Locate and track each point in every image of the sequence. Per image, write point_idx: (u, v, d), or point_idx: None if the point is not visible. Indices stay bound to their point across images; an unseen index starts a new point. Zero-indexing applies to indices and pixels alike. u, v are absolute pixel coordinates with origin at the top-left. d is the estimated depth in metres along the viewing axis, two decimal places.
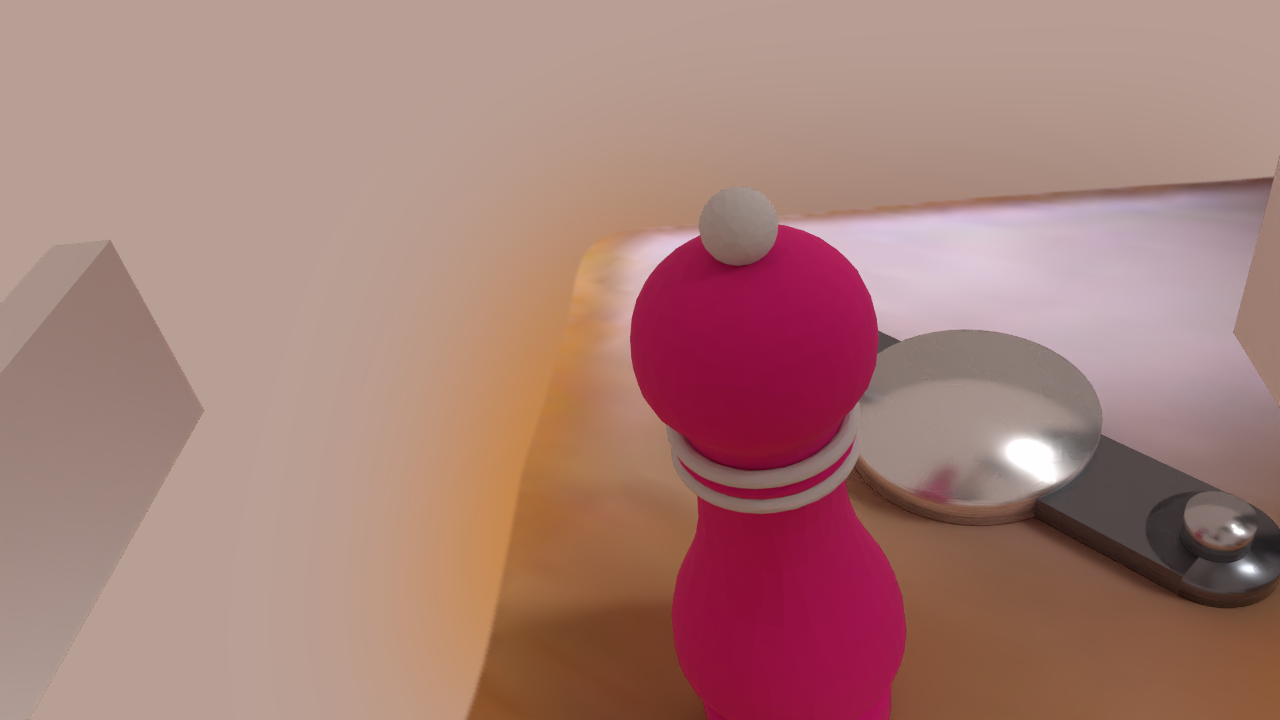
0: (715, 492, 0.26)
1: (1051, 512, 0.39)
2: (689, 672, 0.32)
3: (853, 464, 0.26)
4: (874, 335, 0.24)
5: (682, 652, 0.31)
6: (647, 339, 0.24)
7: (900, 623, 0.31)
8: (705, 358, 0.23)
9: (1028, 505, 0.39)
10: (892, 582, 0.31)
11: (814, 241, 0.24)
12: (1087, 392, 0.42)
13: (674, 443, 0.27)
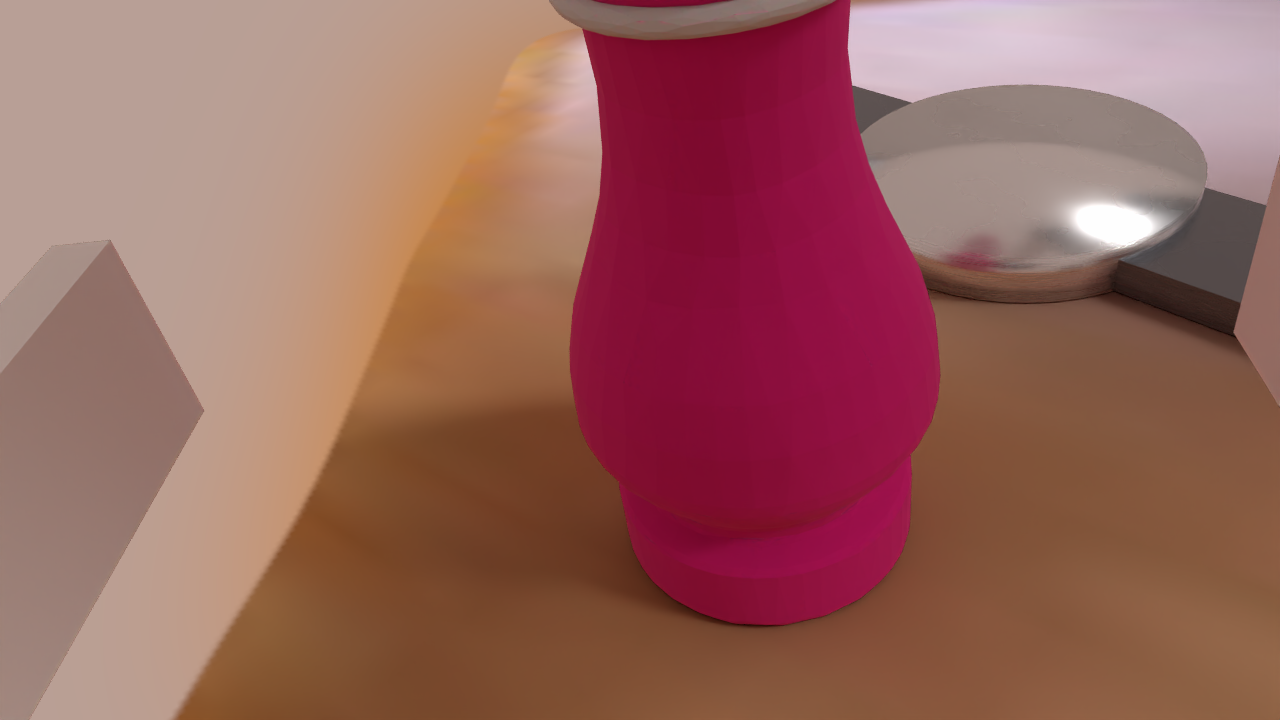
0: (612, 6, 0.14)
1: (1140, 277, 0.27)
2: (590, 427, 0.20)
3: None
4: None
5: (580, 395, 0.20)
6: None
7: (933, 346, 0.19)
8: None
9: (1106, 269, 0.27)
10: (921, 279, 0.19)
11: None
12: (1182, 139, 0.30)
13: None
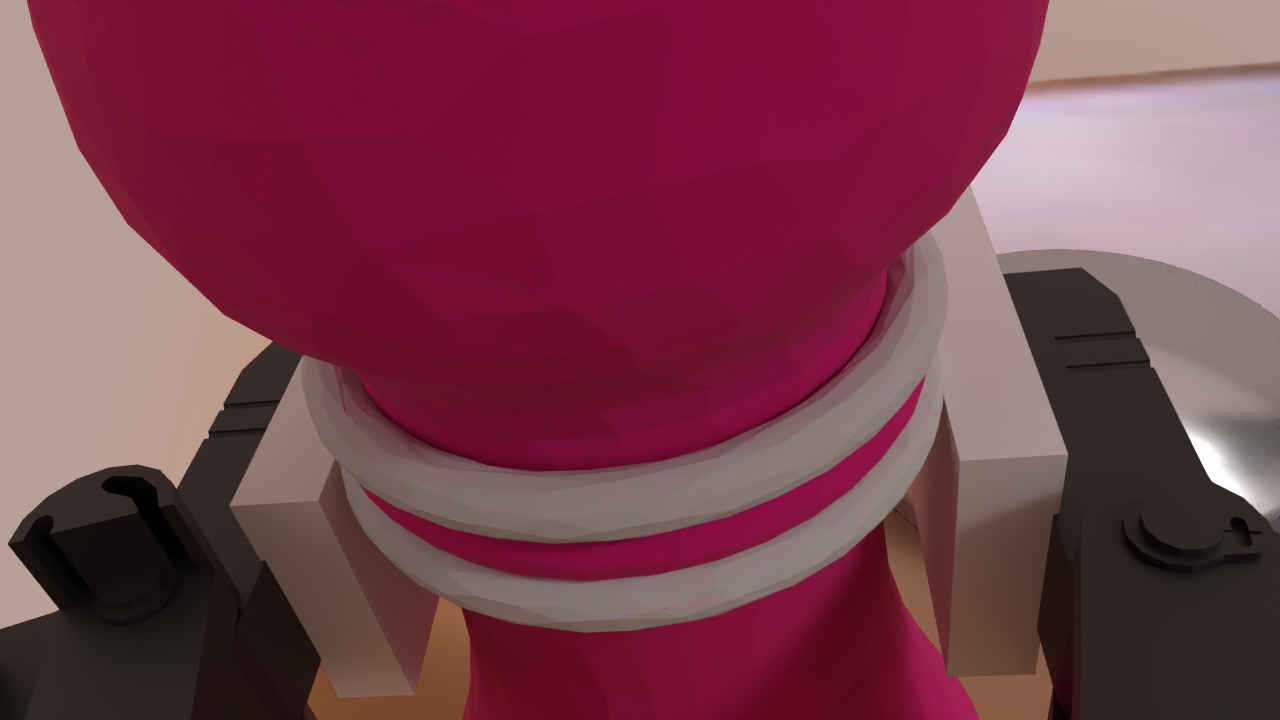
0: (431, 549, 0.07)
1: None
2: None
3: (922, 456, 0.08)
4: None
5: None
6: None
7: None
8: None
9: None
10: None
11: None
12: None
13: (307, 376, 0.08)
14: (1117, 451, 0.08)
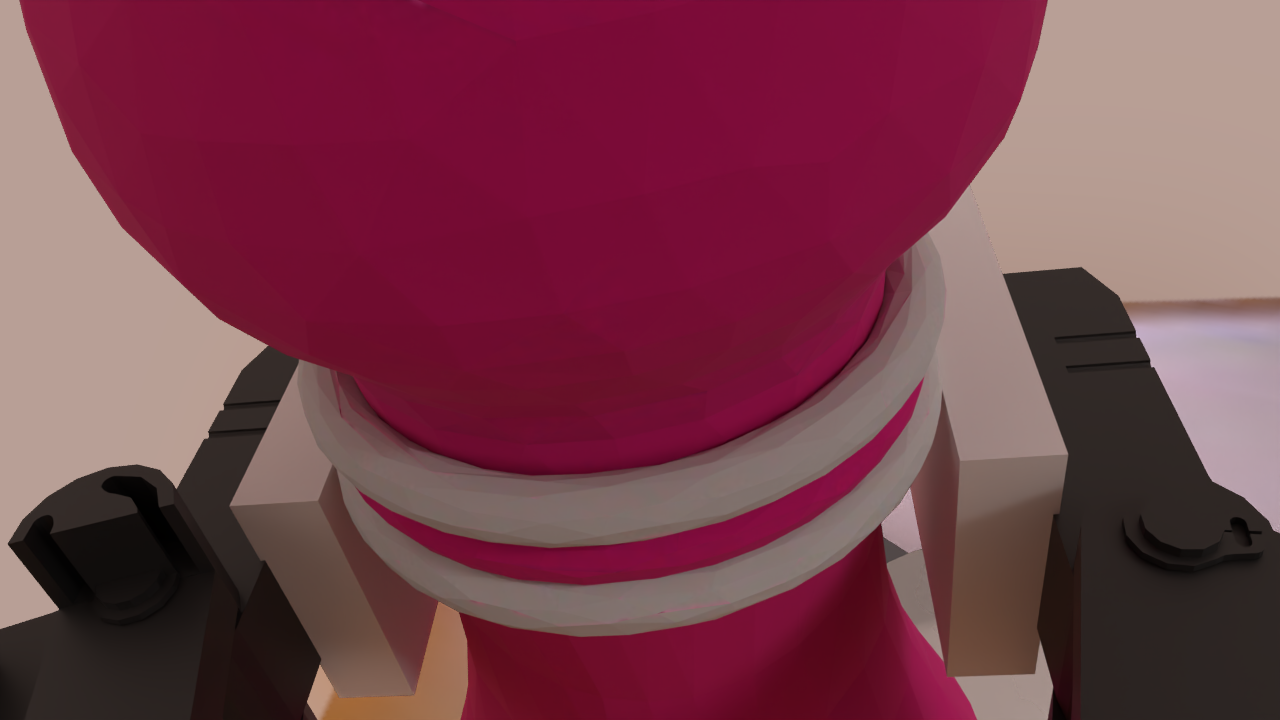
0: (427, 553, 0.07)
1: None
2: None
3: (920, 459, 0.08)
4: None
5: None
6: None
7: None
8: None
9: None
10: None
11: None
12: None
13: (303, 379, 0.08)
14: (1117, 451, 0.08)
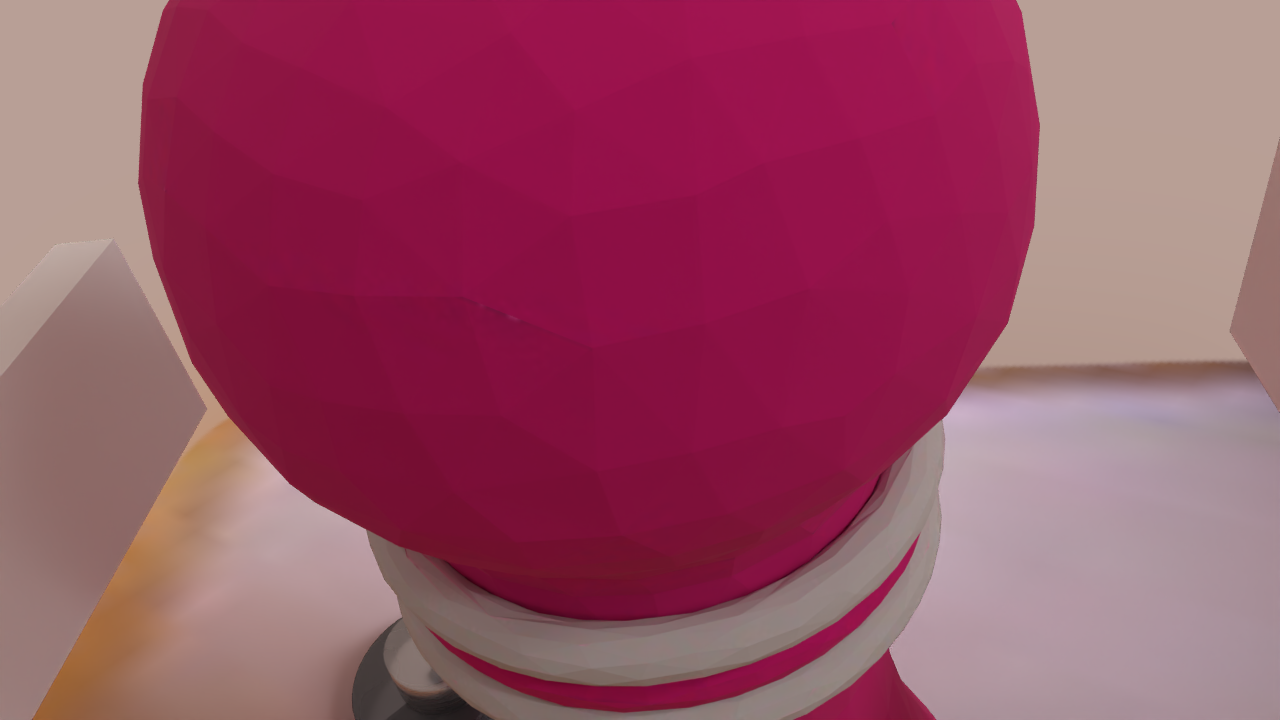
0: (482, 675, 0.08)
1: None
2: None
3: (921, 591, 0.08)
4: (1036, 133, 0.06)
5: None
6: (142, 125, 0.06)
7: None
8: (295, 163, 0.05)
9: None
10: None
11: None
12: None
13: None
14: None
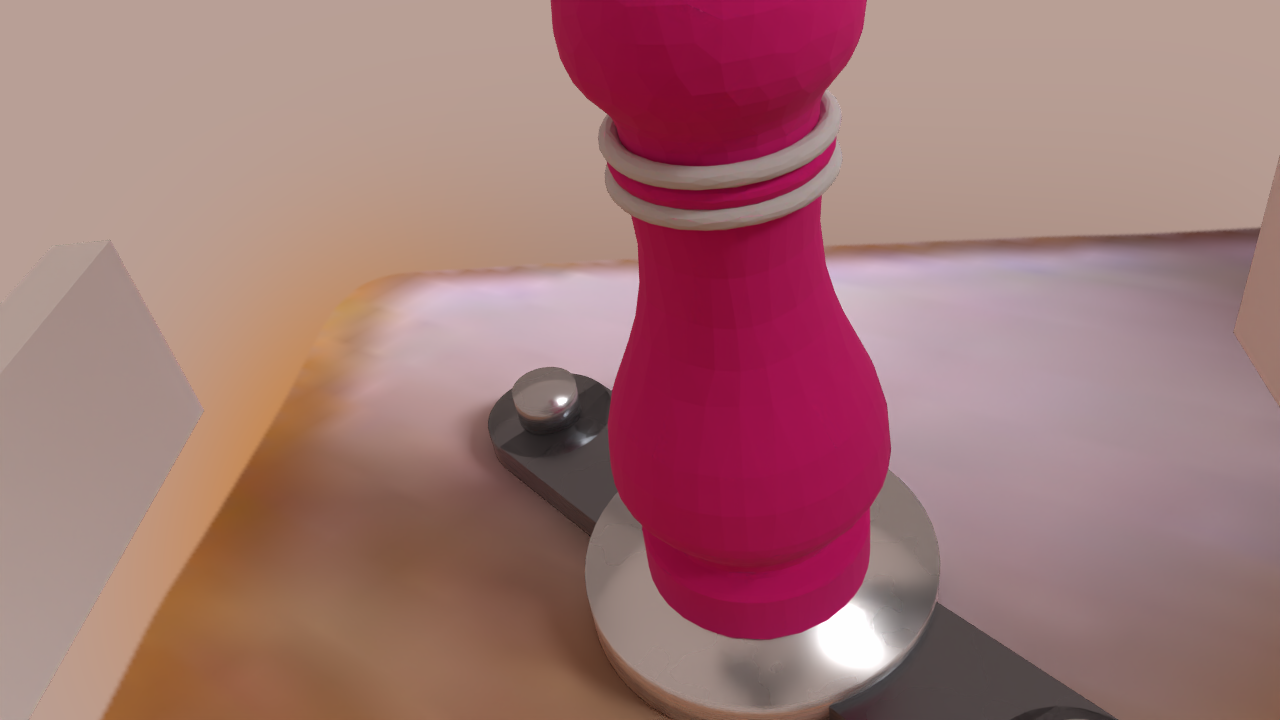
0: (655, 205, 0.21)
1: None
2: (624, 487, 0.26)
3: (830, 179, 0.21)
4: None
5: (617, 462, 0.26)
6: None
7: (884, 430, 0.25)
8: None
9: (817, 715, 0.26)
10: (875, 380, 0.25)
11: None
12: (924, 536, 0.29)
13: (606, 148, 0.21)
14: None
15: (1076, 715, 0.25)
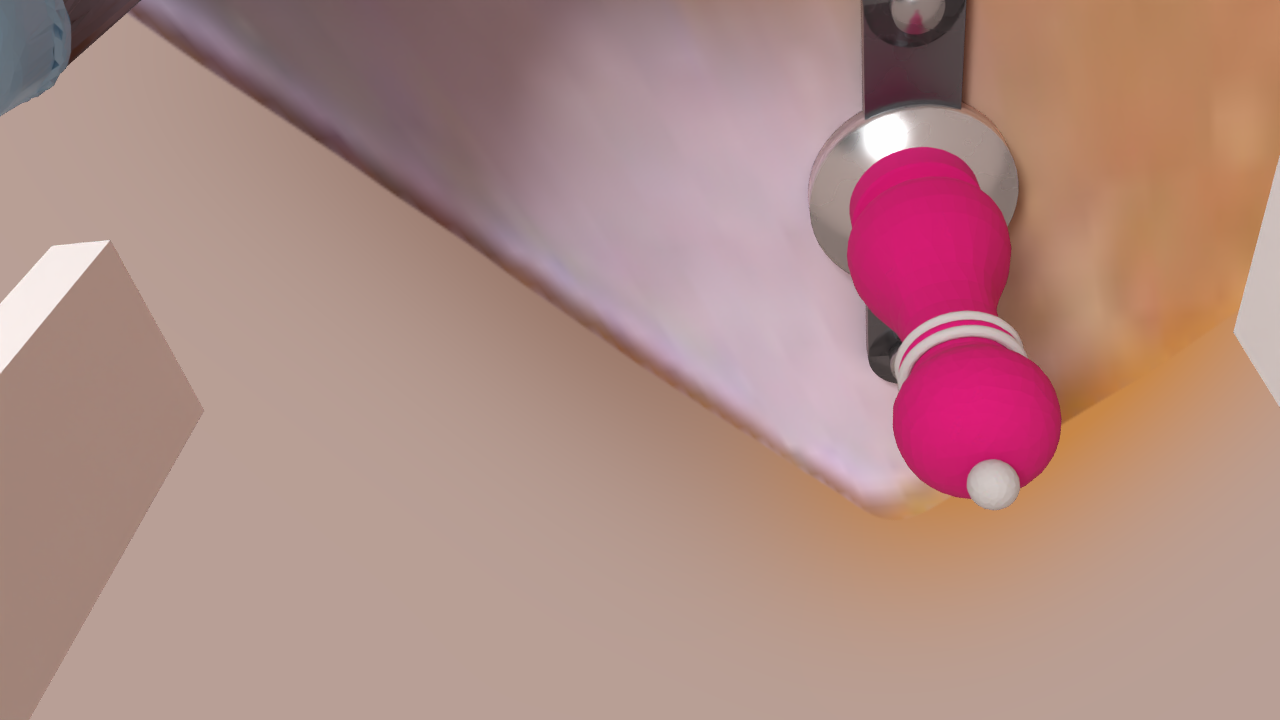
0: None
1: None
2: None
3: (942, 316, 0.40)
4: (940, 378, 0.37)
5: None
6: (1053, 455, 0.38)
7: (893, 208, 0.45)
8: (1053, 425, 0.37)
9: (966, 109, 0.49)
10: (885, 233, 0.45)
11: (938, 451, 0.37)
12: (838, 154, 0.50)
13: None
14: None
15: (876, 27, 0.46)
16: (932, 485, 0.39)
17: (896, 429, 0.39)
